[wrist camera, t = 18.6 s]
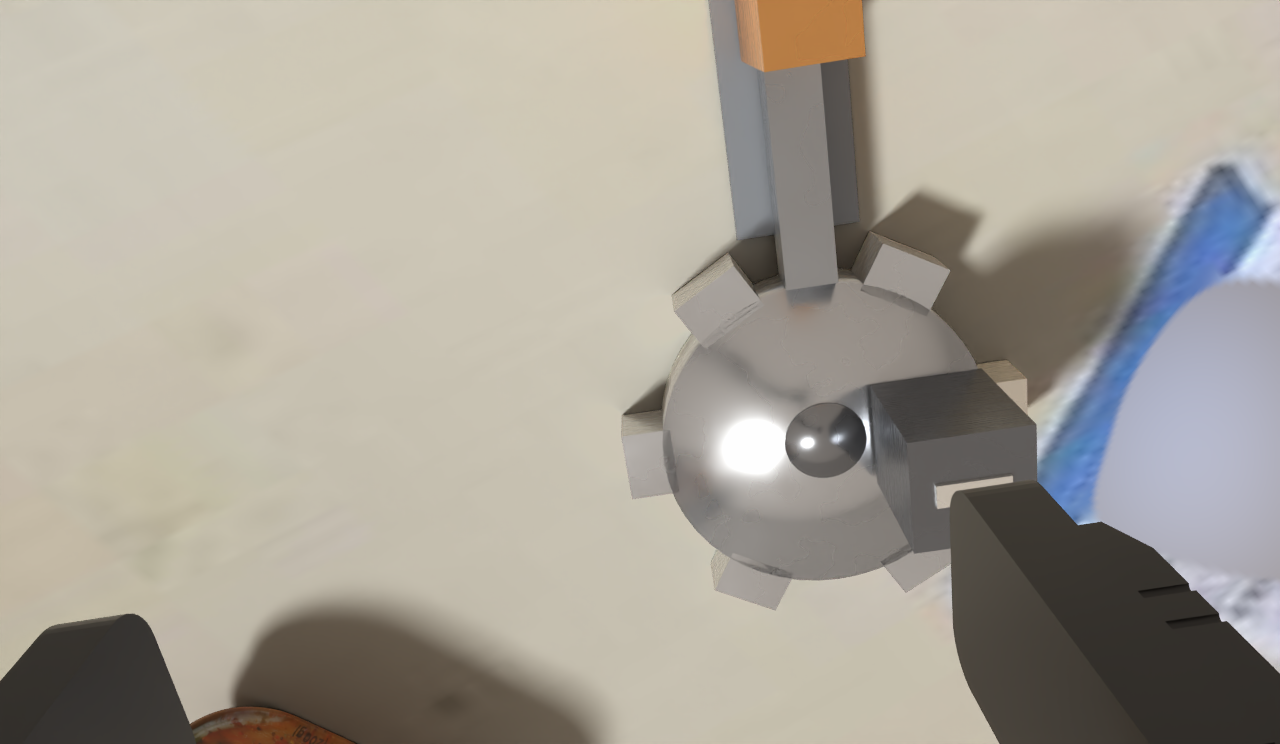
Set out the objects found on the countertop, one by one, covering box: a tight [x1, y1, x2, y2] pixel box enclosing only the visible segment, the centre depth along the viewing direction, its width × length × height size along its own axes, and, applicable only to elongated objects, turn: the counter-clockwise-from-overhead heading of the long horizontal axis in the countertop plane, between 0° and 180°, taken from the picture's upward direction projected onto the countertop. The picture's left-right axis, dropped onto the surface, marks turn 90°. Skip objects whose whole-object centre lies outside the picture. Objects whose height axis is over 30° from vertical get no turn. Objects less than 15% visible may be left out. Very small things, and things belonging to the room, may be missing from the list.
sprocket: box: [621, 231, 1028, 610], centre depth 37 cm, size 15×14×2 cm
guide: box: [709, 0, 860, 240], centre depth 32 cm, size 4×15×1 cm, turn 9°
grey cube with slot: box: [870, 368, 1037, 554], centre depth 33 cm, size 4×4×5 cm
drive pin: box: [734, 0, 866, 291], centre depth 30 cm, size 3×10×6 cm, turn 9°
